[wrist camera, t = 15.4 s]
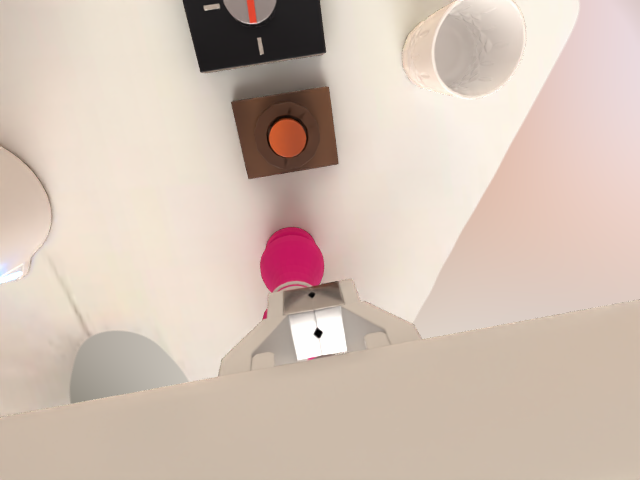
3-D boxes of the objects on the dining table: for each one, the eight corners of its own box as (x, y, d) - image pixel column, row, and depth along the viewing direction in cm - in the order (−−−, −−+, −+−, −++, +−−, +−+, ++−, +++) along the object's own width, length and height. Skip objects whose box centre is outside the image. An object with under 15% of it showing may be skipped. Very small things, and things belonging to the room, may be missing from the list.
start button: (273, 156, 39) (273, 160, 37) (266, 121, 37) (265, 122, 36) (307, 151, 39) (308, 154, 37) (302, 115, 37) (302, 116, 36)
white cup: (414, -2, 37) (458, -28, 28) (482, 27, 39) (544, 11, 30) (384, 80, 40) (416, 81, 31) (449, 104, 41) (497, 111, 32)
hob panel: (206, 73, 38) (200, 72, 35) (176, -47, 34) (167, -59, 31) (322, 54, 38) (326, 52, 35) (307, -66, 34) (310, -80, 31)
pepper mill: (265, 219, 45) (255, 316, 26) (324, 226, 46) (354, 324, 27) (259, 272, 47) (246, 394, 29) (315, 278, 48) (337, 398, 30)
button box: (249, 175, 42) (247, 183, 39) (232, 101, 39) (228, 103, 36) (336, 161, 43) (341, 167, 39) (326, 86, 39) (331, 86, 36)
